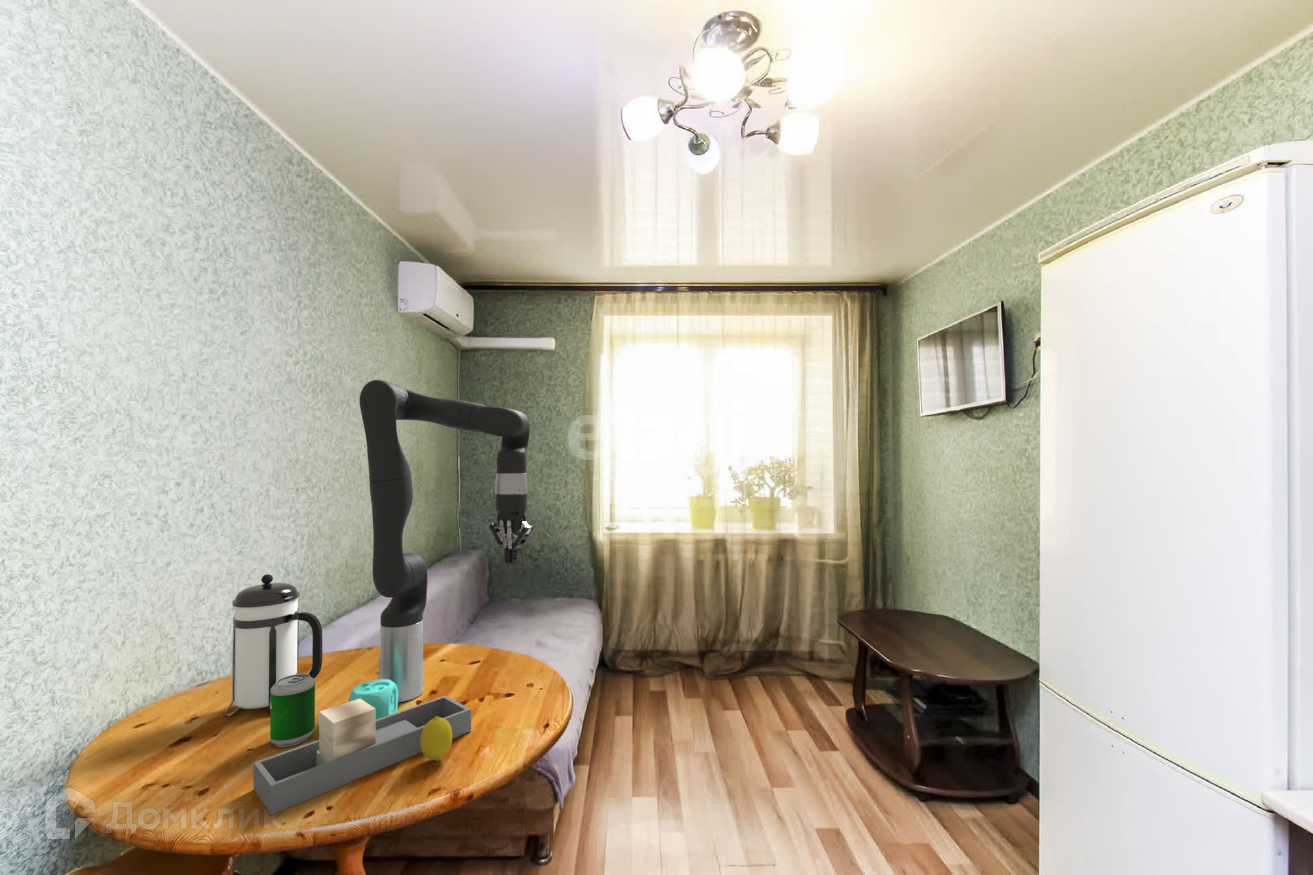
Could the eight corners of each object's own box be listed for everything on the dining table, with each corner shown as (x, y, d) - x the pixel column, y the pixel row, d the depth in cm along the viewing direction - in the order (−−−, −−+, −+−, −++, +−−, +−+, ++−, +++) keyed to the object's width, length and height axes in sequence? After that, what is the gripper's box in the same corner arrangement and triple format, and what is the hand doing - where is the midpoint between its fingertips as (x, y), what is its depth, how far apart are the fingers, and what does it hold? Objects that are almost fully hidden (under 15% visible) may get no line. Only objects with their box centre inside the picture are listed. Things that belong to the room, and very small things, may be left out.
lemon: (433, 772, 99) (433, 726, 99) (414, 763, 102) (413, 719, 102) (458, 757, 103) (458, 714, 104) (439, 749, 106) (439, 707, 107)
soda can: (323, 733, 114) (323, 674, 114) (288, 752, 107) (289, 688, 107) (296, 728, 116) (297, 670, 117) (260, 746, 109) (261, 684, 109)
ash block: (360, 738, 105) (360, 698, 106) (375, 750, 101) (375, 708, 101) (319, 753, 100) (319, 711, 100) (333, 767, 95) (333, 722, 96)
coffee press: (228, 729, 116) (229, 585, 117) (222, 704, 128) (224, 574, 129) (322, 704, 128) (323, 573, 129) (309, 683, 140) (310, 564, 141)
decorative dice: (359, 717, 120) (359, 680, 121) (398, 713, 122) (398, 677, 122) (346, 735, 113) (346, 695, 113) (388, 731, 114) (388, 691, 115)
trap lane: (445, 716, 120) (445, 695, 120) (471, 731, 113) (470, 709, 113) (253, 789, 94) (253, 762, 95) (271, 814, 87) (271, 785, 88)
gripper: (480, 491, 134) (479, 563, 134) (519, 493, 127) (519, 569, 127) (503, 490, 141) (503, 558, 140) (542, 491, 134) (541, 563, 133)
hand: (510, 563), depth 133 cm, fingers closed
